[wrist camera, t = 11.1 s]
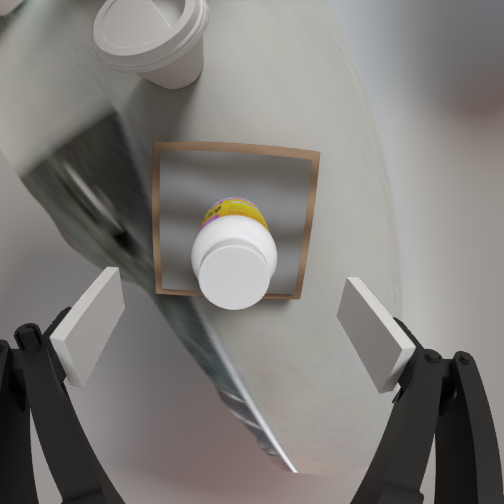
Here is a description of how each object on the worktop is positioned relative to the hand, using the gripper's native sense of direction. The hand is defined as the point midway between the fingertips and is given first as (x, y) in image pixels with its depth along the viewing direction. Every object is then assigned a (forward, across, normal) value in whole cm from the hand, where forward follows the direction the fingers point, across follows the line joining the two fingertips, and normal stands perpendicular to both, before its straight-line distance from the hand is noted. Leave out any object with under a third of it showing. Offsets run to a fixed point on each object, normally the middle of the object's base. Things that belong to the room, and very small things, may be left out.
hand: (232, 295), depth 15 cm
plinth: (+20, 0, -1) cm, 20 cm away
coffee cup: (+20, -8, +18) cm, 28 cm away
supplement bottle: (+16, 0, -1) cm, 16 cm away
